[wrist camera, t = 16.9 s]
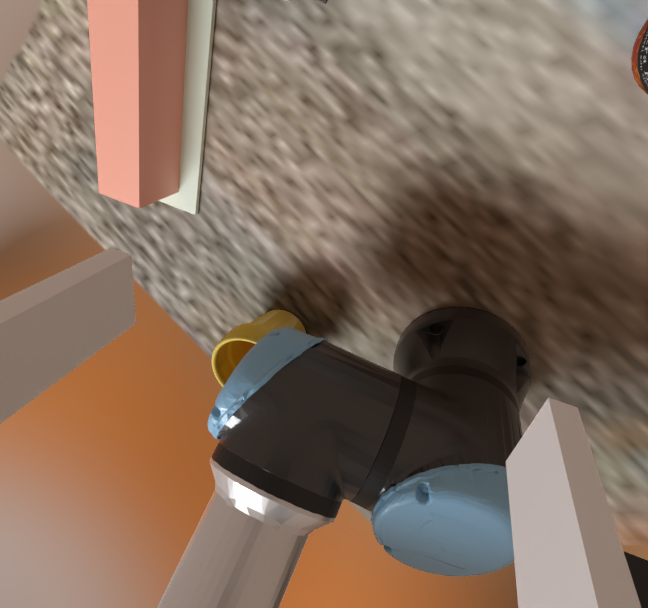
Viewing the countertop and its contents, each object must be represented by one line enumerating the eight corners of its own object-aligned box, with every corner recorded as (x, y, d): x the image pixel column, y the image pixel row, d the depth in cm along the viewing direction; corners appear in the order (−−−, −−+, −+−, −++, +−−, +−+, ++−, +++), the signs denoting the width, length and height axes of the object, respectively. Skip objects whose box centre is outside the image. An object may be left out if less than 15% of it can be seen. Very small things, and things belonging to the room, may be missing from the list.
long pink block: (178, 192, 50) (139, 208, 44) (142, 178, 50) (99, 192, 44) (188, -12, 39) (138, -26, 33) (142, -25, 39) (84, -42, 34)
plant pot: (257, 361, 60) (224, 406, 52) (239, 297, 55) (199, 336, 47) (325, 364, 56) (300, 413, 48) (311, 296, 52) (281, 338, 43)
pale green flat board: (198, 213, 51) (195, 214, 50) (128, 186, 52) (124, 187, 52) (219, -29, 38) (215, -30, 37) (124, -57, 39) (120, -59, 39)
